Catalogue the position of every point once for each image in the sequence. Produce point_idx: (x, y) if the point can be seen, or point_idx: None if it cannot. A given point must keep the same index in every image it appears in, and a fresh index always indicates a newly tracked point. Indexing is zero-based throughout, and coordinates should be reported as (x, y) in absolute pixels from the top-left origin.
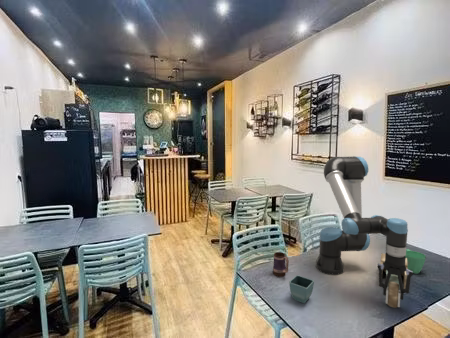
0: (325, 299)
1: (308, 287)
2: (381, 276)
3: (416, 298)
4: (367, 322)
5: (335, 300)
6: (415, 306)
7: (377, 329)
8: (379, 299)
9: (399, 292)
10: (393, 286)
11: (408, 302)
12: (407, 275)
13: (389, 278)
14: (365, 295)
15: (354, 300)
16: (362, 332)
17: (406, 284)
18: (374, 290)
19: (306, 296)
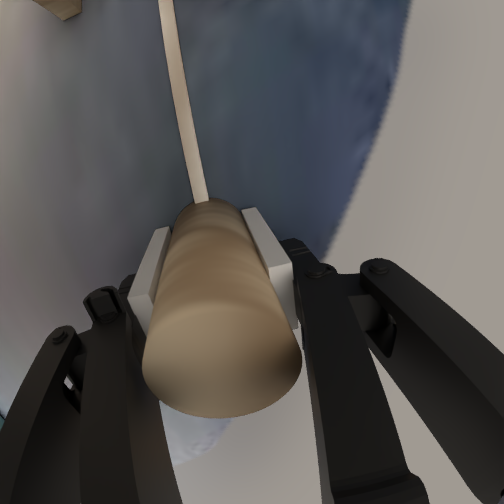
0: (4, 389)
1: None
2: (77, 494)
3: (340, 19)
4: (172, 430)
5: (17, 379)
6: (349, 137)
7: (214, 437)
8: (114, 225)
9: (287, 317)
10: (234, 410)
11: (304, 107)
12: (496, 492)
13: (178, 500)
14: (37, 245)
15: (42, 339)
16: (185, 459)
17: (412, 402)
18: (48, 117)
19: None
